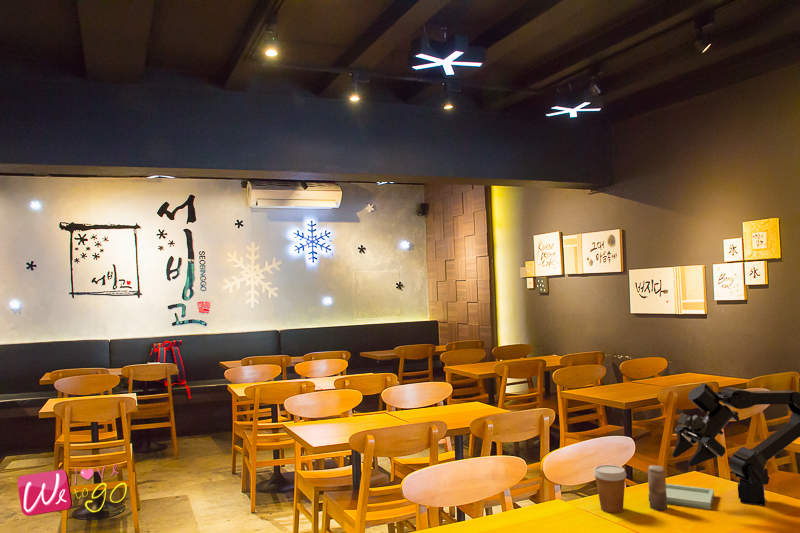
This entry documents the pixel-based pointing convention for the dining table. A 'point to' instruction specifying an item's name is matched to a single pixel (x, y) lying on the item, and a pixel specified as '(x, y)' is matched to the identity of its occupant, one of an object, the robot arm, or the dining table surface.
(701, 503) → the tray
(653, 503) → the pepper mill
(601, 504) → the disposable coffee cup
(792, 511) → the dining table surface
